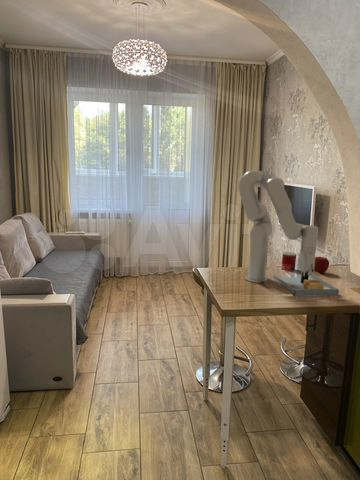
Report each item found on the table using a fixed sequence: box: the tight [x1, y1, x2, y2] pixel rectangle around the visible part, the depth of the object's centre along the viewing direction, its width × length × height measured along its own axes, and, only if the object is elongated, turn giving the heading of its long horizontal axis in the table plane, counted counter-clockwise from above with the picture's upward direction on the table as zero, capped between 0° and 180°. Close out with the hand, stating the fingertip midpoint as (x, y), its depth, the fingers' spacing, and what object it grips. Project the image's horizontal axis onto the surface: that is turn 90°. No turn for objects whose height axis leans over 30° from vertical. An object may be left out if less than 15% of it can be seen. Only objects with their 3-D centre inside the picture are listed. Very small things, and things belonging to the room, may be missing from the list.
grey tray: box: [272, 273, 340, 297], centre depth 192 cm, size 26×23×3 cm
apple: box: [313, 256, 330, 274], centre depth 219 cm, size 10×10×10 cm
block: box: [303, 279, 325, 289], centre depth 184 cm, size 7×7×4 cm
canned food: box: [281, 251, 297, 272], centre depth 221 cm, size 8×8×11 cm
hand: (304, 283), depth 192 cm, fingers closed
